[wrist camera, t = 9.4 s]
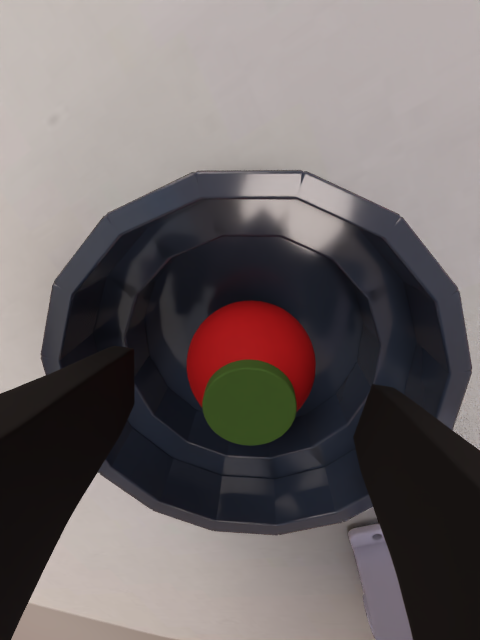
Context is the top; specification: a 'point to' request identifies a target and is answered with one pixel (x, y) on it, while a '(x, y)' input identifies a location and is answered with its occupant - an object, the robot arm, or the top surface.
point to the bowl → (275, 288)
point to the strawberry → (250, 371)
